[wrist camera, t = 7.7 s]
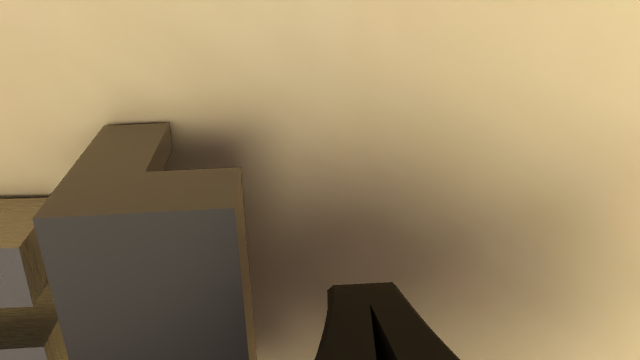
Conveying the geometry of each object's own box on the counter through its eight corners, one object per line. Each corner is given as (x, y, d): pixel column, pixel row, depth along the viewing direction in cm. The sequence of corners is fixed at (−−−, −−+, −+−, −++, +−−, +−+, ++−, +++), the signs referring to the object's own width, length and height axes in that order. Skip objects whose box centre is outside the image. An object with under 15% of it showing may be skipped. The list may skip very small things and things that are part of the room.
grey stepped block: (265, 353, 16) (261, 495, 12) (148, 361, 16) (107, 507, 12) (246, 119, 13) (234, 208, 9) (104, 125, 13) (32, 219, 9)
